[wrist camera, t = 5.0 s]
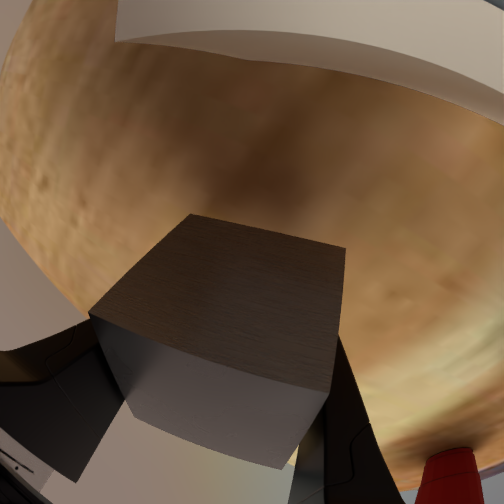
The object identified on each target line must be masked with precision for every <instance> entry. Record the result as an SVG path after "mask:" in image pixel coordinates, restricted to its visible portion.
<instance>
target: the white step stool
mask: <svg viewBox="0 0 504 504" xmlns="http://www.w3.org/2000/svg"><path fill="white" fill-rule="evenodd" d="M115 42H126V43H141V44H153V45H163V46H171V47H179V48H186V49H192V50H199V51H204V52H210V53H215V54H220V55H225V56H230V57H235V58H239V59H243V60H251V61H265V62H277V63H287V64H295V65H303V66H310V67H317V68H323V69H329V70H335V71H340V72H346V73H350V74H355V75H360V76H364V77H369V78H373V79H377V80H381V81H385V82H389V83H392V84H396V85H399V86H403V87H406V88H410V89H413V90H416V91H419V92H422V93H425V94H428V95H431V96H434V97H437V98H440V99H443V100H445V101H448V102H451V103H453V104H456V105H458V106H461V107H463V108H466V109H468V110H470V111H473V112H475V113H477V114H480V115H482V116H484V117H486V118H489V119H491V120H493V121H495V122H497V123H499V124H501V125H503V126H504V11H503V10H501V9H499V8H497V7H496V6H494V5H492V4H490V3H488V2H486V1H484V0H119V1H118V10H117V19H116V30H115Z"/></svg>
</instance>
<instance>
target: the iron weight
mask: <svg viewBox="0 0 504 504" xmlns="http://www.w3.org/2000/svg"><path fill="white" fill-rule="evenodd" d="M345 254H346V248H343V247H338V246H334V245H330V244H326V243H321V242H317V241H313V240H308V239H304V238H300V237H295V236H291V235H286V234H282V233H278V232H273V231H269V230H264V229H260V228H255V227H250V226H246V225H241V224H237V223H232V222H227V221H223V220H218V219H213V218H208V217H204V216H199V215H194V214H189V215H188V216H187V217H186V218H185V219H184V220H183V221H182V222H180V223H179V224H178V225H177V226H176V227H175V228H174V229H173V230H172V231H171V232H169V233H168V234H167V235H166V236H165V237H164V238H163V239H162V240H161V241H160V242H159V243H157V244H156V245H155V246H154V247H153V248H152V249H151V250H150V251H149V252H148V253H147V254H146V255H145V256H144V257H143V258H141V259H140V260H139V261H138V262H137V263H136V264H135V265H134V266H133V267H132V268H131V269H130V270H129V271H128V272H127V273H126V274H125V275H124V276H123V277H122V278H121V279H120V280H119V281H118V282H117V283H116V284H115V285H114V286H113V287H112V288H111V289H110V290H109V291H108V292H107V293H106V294H105V295H104V296H103V297H102V298H101V299H100V300H99V301H98V302H97V303H96V304H95V305H94V306H93V307H92V308H91V309H90V310H89V311H88V314H89V317H90V319H91V322H92V325H93V327H94V330H95V333H96V335H97V338H98V340H99V343H100V345H101V348H102V350H103V352H104V355H105V357H106V359H107V362H108V364H109V366H110V369H111V371H112V373H113V375H114V377H115V379H116V382H117V384H118V386H119V388H120V390H121V392H122V394H123V396H124V398H125V400H126V402H127V404H128V406H129V408H130V410H131V412H132V413H133V415H134V417H136V418H137V419H140V420H141V421H144V422H146V423H148V424H150V425H152V426H154V427H157V428H159V429H161V430H163V431H165V432H168V433H170V434H172V435H175V436H178V437H180V438H182V439H185V440H187V441H190V442H192V443H195V444H197V445H200V446H203V447H206V448H208V449H211V450H214V451H217V452H220V453H223V454H226V455H229V456H233V457H236V458H239V459H242V460H246V461H249V462H253V463H256V464H260V465H264V466H268V467H272V468H276V469H280V470H282V469H283V467H284V466H285V464H286V463H287V461H288V460H289V458H290V457H291V455H292V454H293V452H294V451H295V449H296V448H297V446H298V445H299V443H300V442H301V440H302V439H303V437H304V436H305V434H306V432H307V431H308V429H309V427H310V426H311V424H312V423H313V421H314V419H315V418H316V416H317V414H318V413H319V411H320V409H321V407H322V406H323V404H324V402H325V400H326V399H327V397H328V395H329V393H330V387H331V381H332V375H333V368H334V361H335V354H336V347H337V339H338V331H339V322H340V313H341V304H342V293H343V282H344V269H345Z"/></svg>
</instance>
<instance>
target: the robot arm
mask: <svg viewBox="0 0 504 504" xmlns="http://www.w3.org/2000/svg"><path fill="white" fill-rule="evenodd" d="M124 400H125V398H124V396H123V394H122V392H121V390H120V388H119V386H118V384H117V382H116V379H115V377H114V375H113V373H112V371H111V369H110V366H109V364H108V362H107V359H106V357H105V355H104V352H103V350H102V348H101V345H100V343H99V340H98V338H97V335H96V333H95V330H94V327H93V325H92V322H91V319H87V320H85V321H83V322H81V323H79V324H77V326H76V325H75V326H73V327H70V328H68V329H66V330H64V331H62V332H60V333H57V334H55V335H52V336H50V337H47V338H45V339H42V340H39V341H37V342H34V343H31V344H28V345H25V346H23V347H20V348H17V349H14V350H10V351H0V504H52V503H51V502H50V501H49V500H48V499H46V498H45V497H44V496H43V495H41V494H40V493H39V492H40V491H41V489H42V488H43V486H44V485H45V483H46V482H47V480H48V478H49V477H50V475H51V473H52V472H53V471H54V470H56V471H57V472H59V473H60V474H62V475H63V476H65V477H66V478H68V479H70V480H71V481H73V482H75V483H76V482H77V481H78V480H79V478H80V476H81V474H82V472H83V471H84V469H85V467H86V466H87V464H88V462H89V460H90V458H91V457H92V455H93V453H94V452H95V450H96V448H97V446H98V444H99V443H100V441H101V439H102V438H103V436H104V434H105V432H106V431H107V429H108V427H109V426H110V424H111V422H112V420H113V419H114V417H115V415H116V414H117V412H118V410H119V409H120V407H121V405H122V404H123V402H124ZM288 504H406V503H405V502H404V501H403V499H402V497H401V495H400V493H399V491H398V489H397V487H396V484H395V482H394V480H393V478H392V476H391V474H390V471H389V469H388V467H387V465H386V463H385V461H384V458H383V456H382V454H381V451H380V449H379V446H378V444H377V441H376V438H375V435H374V433H373V429H372V426H371V424H370V423H369V418H368V415H367V412H366V409H365V406H364V403H363V400H362V397H361V394H360V391H359V389H358V386H357V383H356V380H355V377H354V375H353V372H352V369H351V366H350V364H349V361H348V358H347V356H346V353H345V350H344V347H343V345H342V342H341V340H340V337H339V334H338V339H337V347H336V354H335V361H334V368H333V375H332V381H331V387H330V393H329V395H328V397H327V399H326V400H325V402H324V404H323V406H322V407H321V409H320V411H319V413H318V414H317V416H316V418H315V419H314V421H313V423H312V424H311V426H310V427H309V429H308V431H307V432H306V434H305V436H304V437H303V439H302V440H301V442H300V443H299V447H298V453H297V459H296V464H295V470H294V475H293V480H292V485H291V490H290V496H289V500H288Z"/></svg>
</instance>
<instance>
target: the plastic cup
mask: <svg viewBox="0 0 504 504" xmlns="http://www.w3.org/2000/svg"><path fill="white" fill-rule="evenodd" d="M415 504H484V498H483V492H482V486H481V480H480V475H479V473H478V470H477V465H476V460H475V456H474V454H473V451H472V450H471V449H470V448H457V449H452V450H448V451H444V452H442V453H439V454H436V455H434V456H433V457H431V458H429V459H428V460H427V461H426V466H425V467H424V472H423V476H422V481H421V485H420V487H419V490H418V494H417V497H416V500H415Z"/></svg>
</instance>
